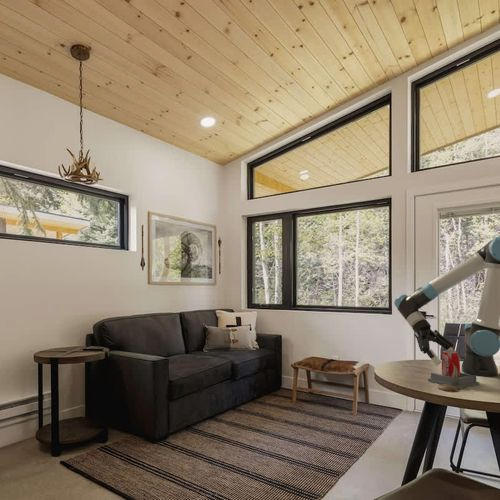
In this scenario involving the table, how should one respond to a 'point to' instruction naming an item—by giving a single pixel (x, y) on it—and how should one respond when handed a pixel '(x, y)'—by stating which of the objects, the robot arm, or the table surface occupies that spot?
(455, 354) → the soda can
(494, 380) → the table surface
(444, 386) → the walnut coaster
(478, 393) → the table surface
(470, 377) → the dock
